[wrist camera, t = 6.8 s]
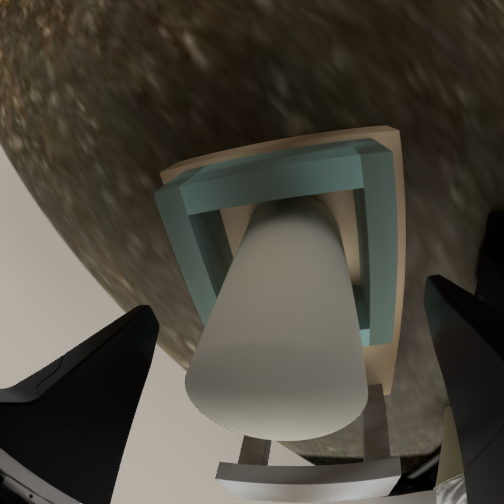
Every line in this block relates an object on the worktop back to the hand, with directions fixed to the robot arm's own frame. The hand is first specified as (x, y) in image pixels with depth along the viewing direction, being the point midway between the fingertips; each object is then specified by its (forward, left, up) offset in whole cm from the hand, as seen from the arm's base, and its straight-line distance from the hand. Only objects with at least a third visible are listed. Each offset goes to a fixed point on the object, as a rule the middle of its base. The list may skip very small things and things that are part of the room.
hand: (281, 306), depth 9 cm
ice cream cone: (-12, +20, -7) cm, 24 cm away
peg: (0, 0, -5) cm, 5 cm away
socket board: (0, +4, -7) cm, 8 cm away
